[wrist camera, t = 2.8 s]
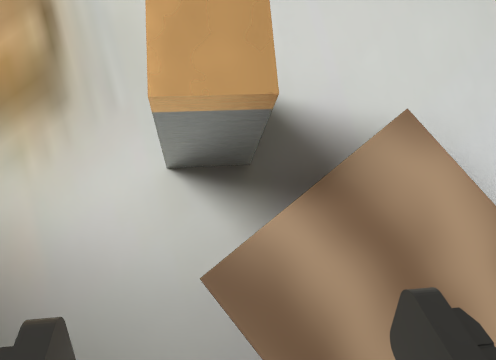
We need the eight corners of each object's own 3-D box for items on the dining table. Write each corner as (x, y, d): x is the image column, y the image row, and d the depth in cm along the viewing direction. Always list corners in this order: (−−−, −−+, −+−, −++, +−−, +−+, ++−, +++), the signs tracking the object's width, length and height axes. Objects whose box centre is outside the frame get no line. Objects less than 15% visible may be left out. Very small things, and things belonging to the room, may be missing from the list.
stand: (364, 491, 23) (406, 542, 18) (199, 280, 24) (199, 278, 20) (527, 313, 26) (598, 318, 21) (372, 138, 28) (407, 108, 23)
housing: (249, 164, 26) (279, 93, 17) (166, 168, 26) (147, 97, 16) (243, 89, 28) (267, -18, 18) (164, 91, 27) (144, -19, 17)
